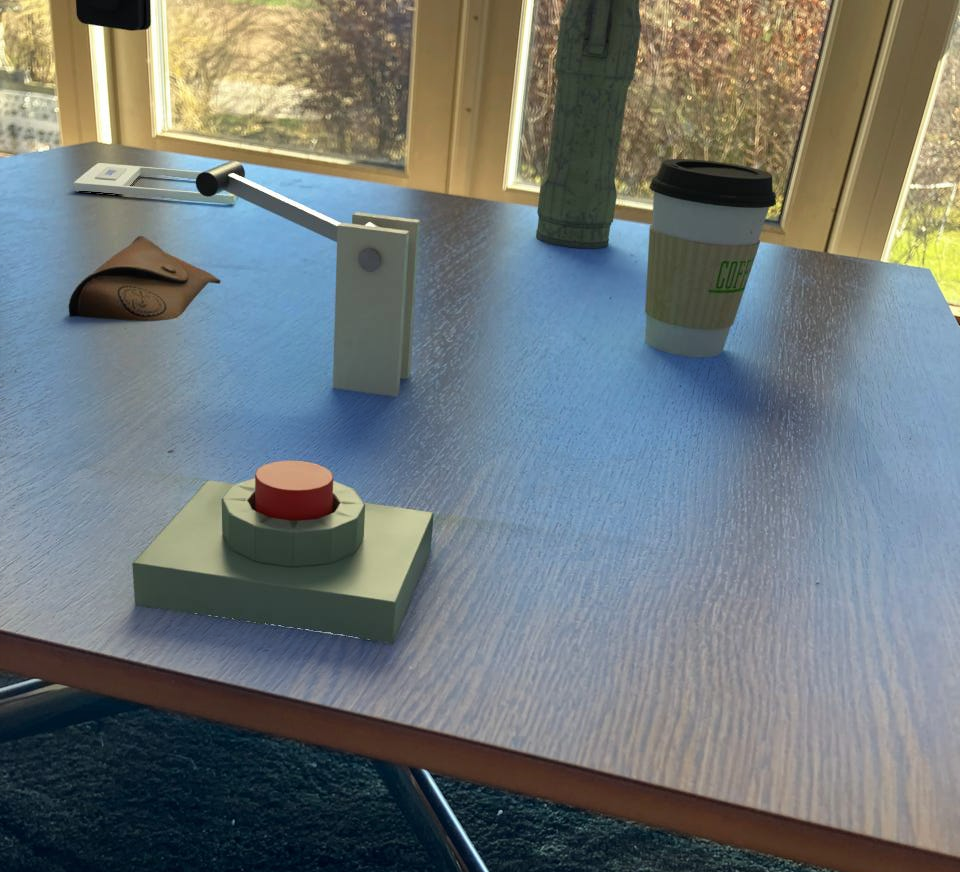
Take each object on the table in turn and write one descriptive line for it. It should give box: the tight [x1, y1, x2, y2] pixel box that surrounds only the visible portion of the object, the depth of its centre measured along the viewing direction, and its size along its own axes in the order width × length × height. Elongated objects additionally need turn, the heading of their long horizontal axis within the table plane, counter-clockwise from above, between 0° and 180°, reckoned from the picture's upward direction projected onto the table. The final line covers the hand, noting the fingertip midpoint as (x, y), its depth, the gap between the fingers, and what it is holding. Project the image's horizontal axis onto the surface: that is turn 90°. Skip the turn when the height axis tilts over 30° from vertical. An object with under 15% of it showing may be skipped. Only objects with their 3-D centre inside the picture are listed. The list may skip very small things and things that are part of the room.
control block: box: [131, 477, 435, 645], centre depth 54 cm, size 12×10×4 cm
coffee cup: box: [644, 158, 777, 358], centre depth 91 cm, size 10×10×15 cm
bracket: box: [332, 211, 421, 398], centre depth 76 cm, size 10×8×12 cm
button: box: [254, 460, 334, 521], centre depth 53 cm, size 4×4×2 cm
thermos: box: [535, 0, 642, 250], centre depth 125 cm, size 9×12×35 cm
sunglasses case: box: [68, 235, 222, 322], centre depth 92 cm, size 18×7×7 cm
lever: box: [195, 160, 379, 243], centre depth 73 cm, size 13×6×2 cm, turn 82°
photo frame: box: [73, 162, 238, 205], centre depth 137 cm, size 15×1×18 cm
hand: (114, 25), depth 57 cm, fingers closed
